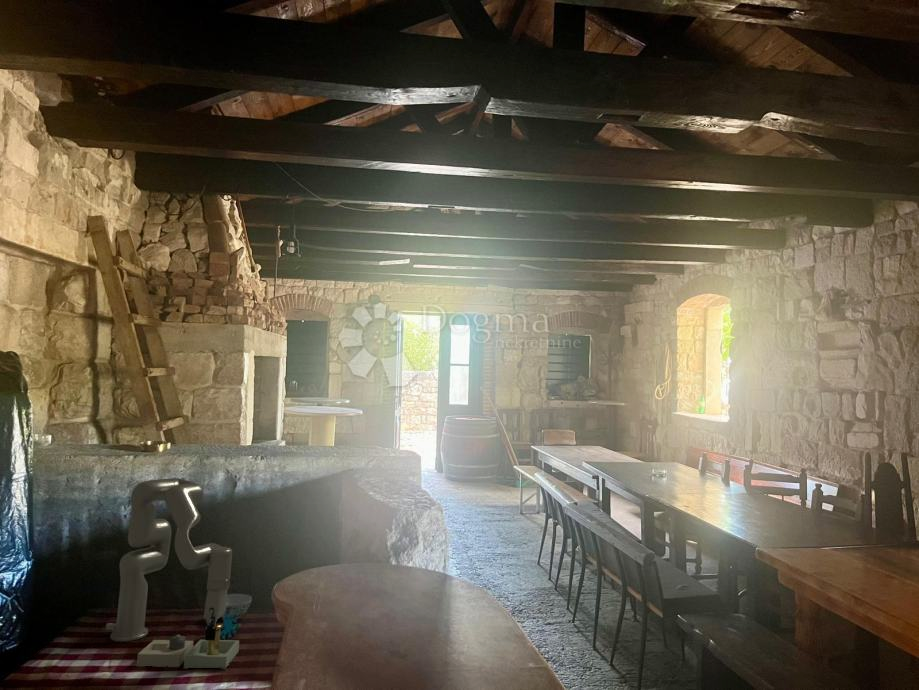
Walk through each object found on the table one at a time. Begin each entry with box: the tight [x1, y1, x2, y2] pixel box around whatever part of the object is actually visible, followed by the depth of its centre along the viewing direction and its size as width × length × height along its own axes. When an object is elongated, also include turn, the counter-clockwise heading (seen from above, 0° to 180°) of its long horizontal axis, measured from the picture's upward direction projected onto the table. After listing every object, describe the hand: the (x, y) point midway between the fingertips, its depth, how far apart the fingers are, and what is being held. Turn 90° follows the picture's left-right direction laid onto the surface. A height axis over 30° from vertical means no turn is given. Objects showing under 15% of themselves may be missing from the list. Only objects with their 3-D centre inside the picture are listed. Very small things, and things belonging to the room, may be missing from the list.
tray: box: [183, 639, 240, 670], centre depth 204 cm, size 14×14×4 cm
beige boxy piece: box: [136, 634, 194, 668], centre depth 203 cm, size 14×12×8 cm
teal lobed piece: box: [212, 613, 242, 640], centre depth 226 cm, size 11×6×10 cm
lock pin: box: [207, 623, 223, 655], centre depth 204 cm, size 5×5×11 cm
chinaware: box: [224, 593, 253, 620], centre depth 243 cm, size 15×15×8 cm
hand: (214, 635), depth 204 cm, fingers open, 7 cm apart
